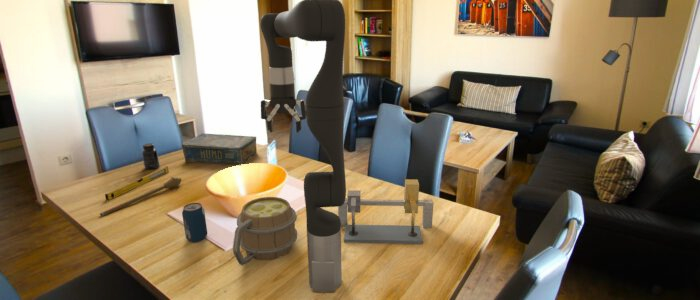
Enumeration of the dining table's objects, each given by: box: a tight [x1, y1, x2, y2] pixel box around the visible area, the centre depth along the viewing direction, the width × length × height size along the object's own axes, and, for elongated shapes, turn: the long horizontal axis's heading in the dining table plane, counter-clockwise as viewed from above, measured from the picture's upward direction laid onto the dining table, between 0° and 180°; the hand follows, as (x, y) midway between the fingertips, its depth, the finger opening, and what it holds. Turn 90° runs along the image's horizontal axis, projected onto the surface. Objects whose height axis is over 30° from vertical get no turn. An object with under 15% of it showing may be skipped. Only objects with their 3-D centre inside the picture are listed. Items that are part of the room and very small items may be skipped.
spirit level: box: [104, 165, 169, 201], centre depth 182 cm, size 33×1×3 cm, turn 160°
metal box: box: [181, 132, 258, 166], centre depth 215 cm, size 21×32×10 cm, turn 79°
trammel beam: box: [337, 189, 434, 233], centre depth 141 cm, size 11×33×12 cm, turn 87°
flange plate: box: [343, 224, 424, 245], centre depth 140 cm, size 10×26×1 cm, turn 87°
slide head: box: [403, 178, 420, 234], centre depth 140 cm, size 11×4×15 cm, turn 177°
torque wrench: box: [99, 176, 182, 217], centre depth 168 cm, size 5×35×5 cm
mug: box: [232, 196, 298, 266], centre depth 128 cm, size 19×25×15 cm
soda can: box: [181, 202, 208, 244], centre depth 137 cm, size 7×7×12 cm
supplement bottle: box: [141, 142, 160, 171], centre depth 200 cm, size 7×7×12 cm
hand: (285, 131), depth 131 cm, fingers open, 8 cm apart
